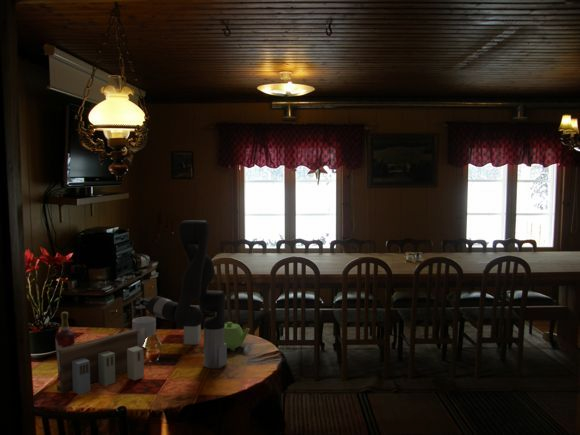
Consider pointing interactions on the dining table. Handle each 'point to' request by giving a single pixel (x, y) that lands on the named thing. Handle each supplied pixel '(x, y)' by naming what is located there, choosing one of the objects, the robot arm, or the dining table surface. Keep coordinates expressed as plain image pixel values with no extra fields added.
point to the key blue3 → (81, 375)
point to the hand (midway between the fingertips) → (137, 299)
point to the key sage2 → (106, 368)
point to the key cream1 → (135, 363)
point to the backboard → (95, 356)
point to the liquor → (64, 338)
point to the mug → (144, 328)
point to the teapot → (234, 335)
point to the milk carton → (192, 333)
